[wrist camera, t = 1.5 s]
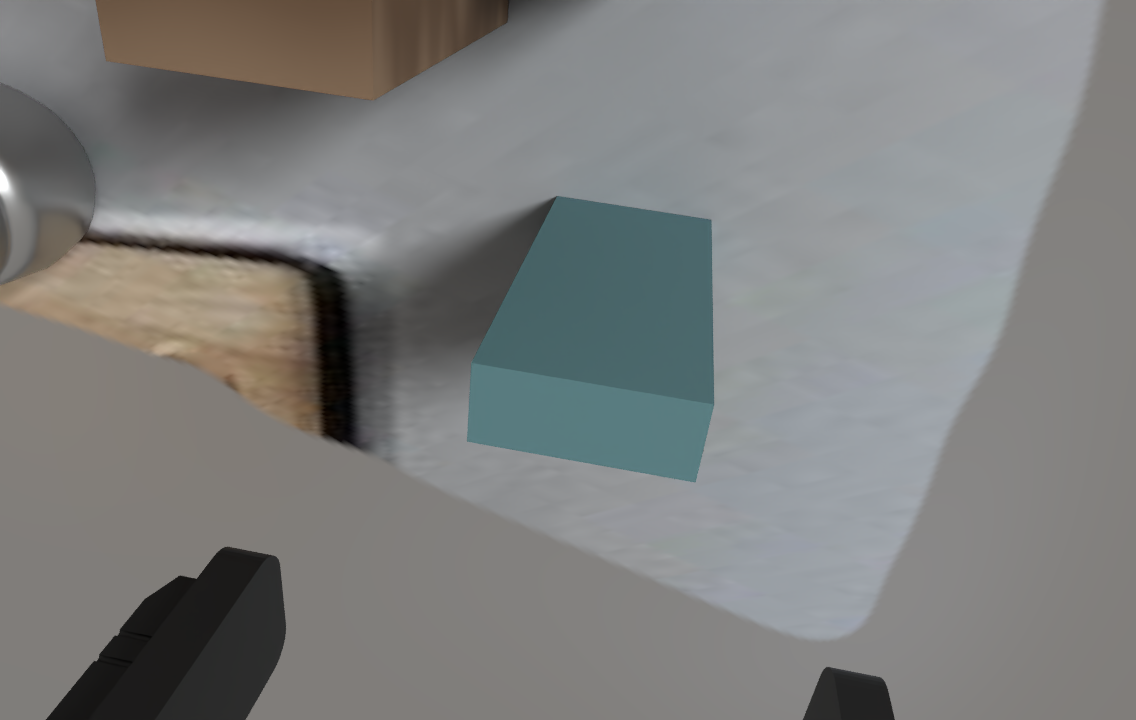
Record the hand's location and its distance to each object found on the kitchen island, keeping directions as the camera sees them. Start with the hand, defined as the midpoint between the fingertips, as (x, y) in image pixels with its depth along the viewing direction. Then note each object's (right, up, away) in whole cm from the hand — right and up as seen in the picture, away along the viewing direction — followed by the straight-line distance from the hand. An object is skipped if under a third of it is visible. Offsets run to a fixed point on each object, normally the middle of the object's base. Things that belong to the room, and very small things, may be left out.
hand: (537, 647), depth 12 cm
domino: (-4, +15, +12) cm, 20 cm away
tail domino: (+2, +8, +15) cm, 17 cm away
